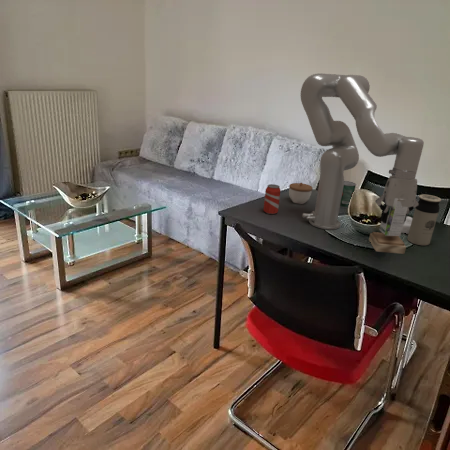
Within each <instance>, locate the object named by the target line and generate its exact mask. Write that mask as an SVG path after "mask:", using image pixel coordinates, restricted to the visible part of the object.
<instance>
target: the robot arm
mask: <svg viewBox="0 0 450 450" xmlns="http://www.w3.org/2000/svg"><path fill="white" fill-rule="evenodd" d="M370 86H371V85H370V82H369V81H368V79H367V78H366V77H365V76H363V75H359V74H358V75H357V74H346V75H345V74H332V73H313V74H311V75H309V76H307V78H306V79H304V82H303V83H302V85H301V88H300V101H301V105H302V107H303V110H304V111H305V113H306V117H307V118H308V122H309V125H310V128H311V130H312V134H313V137H314V139H315V141H316V143H317V144H318V145H319V146H321V147H330V146H331V148H328V149H327V150H326V151H325V150H324V152H323V154H321V157H320V160H319V161H320V163H319V167H320V168H319V169H320V170H319V171H320V172H319V181H318V189H317V194H316V200H315V201H316V202H315V206H314V208H315V209H314V210H312V212H310V213H307V212H303V213H302V217H301V218H303V219H306V220H308V221H309V224H310V225H312V226H313V227H316V228H318V229H322V230H330V231H331V230H337V229H339V228H340V227H341V222H340V221H339V219H338V218H339V213H340V208H341V207H340V203H341V197H342V192H343V186H344V181H345V177H344V171H349V170H351V169H354V168H355V167H356V166H357V165H358V163H359V161H360V160H359V159H360V155H359V150H358V147H357V145H356V143H355V139H354V137H353V134H352V132H351V129H350V127H349V125H347V124H346V123H345V122H343V121H341V120H334V119H333V117H332V114H331V112H330V109H329V106H328V105H327V104H326V102H325V101H324V100H323V98H339V99H340V100H341V101H342V103H343V104H344V106H345V107H346V109H347V110H348V112H349V113H350V115H351V116H352V117H353V119H354V121H355V127H356V130H357V131H356V132H357V134H358V137H359V138H360V141H361V143H363V145H364V146H365V147H366V149H367V150H368V152H370V154H372V155H373V156H375V157H379V158H380V157H386V156H394V155H395V160H394V164H393V167H392V169H389V171H388V173H389V174H390V175H389V177H388V179H387V181H386V184H385V185H384V186H385V187H384V190H383V192H382V194H381V196H379V197H378V198H377V199H376V200H375V204H376V205H377V206H378V207H379V209H380V210H381V215H380V221H382V222H383V223H386V222H387V218H388V213H387V211H388V210H389V208H390V206H391V207H392V206H393V204H394V199H395V198H398V199H399V200H400V199H404V201H403V200H400V202H401V201H402V202H401V205H402V207H408V208H407V212H406V216H405V220H404V222H405V221H406V217H407V216H408V215H409V214H410V212H411V211H413V210H415V207H416V206H418V205H419V203H418V201H417V199H416V196H417V191H418V179H417V178H416V175H417V172H418V168H419V165H420V160H421V155H422V152H423V149H424V140H423V139H421V138H419V137H413V136H405V135H402V134H399V133H397V132H396V133H394V132H387V133H384V132H383V131H382V129H381V128H380V126H379V125H378V122H377V121H376V118H375V112H376V110H377V103H376V101H374V100H373V98H372V97H371V95H370V94H369V91H370V88H371V87H370ZM382 202H383V203H382Z"/></svg>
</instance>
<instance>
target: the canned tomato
mask: <svg viewBox="0 0 450 450" xmlns="http://www.w3.org/2000/svg"><path fill="white" fill-rule="evenodd" d="M356 186H357V184H356V183H355V182H354V181H350V180H349V181H348V180H344V186H343V192H342V197H341V203H340V208H343V209H349V208H348V205H349V202H350V199H351V197H352V194H353V192H354V191H356ZM354 193H355V192H354Z"/></svg>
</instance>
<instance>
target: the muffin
mask: <svg viewBox="0 0 450 450" xmlns="http://www.w3.org/2000/svg"><path fill="white" fill-rule="evenodd" d="M412 219H413V217H411V216H408V215H407V217H406V221H405V222H404V224H403V228H402V232H403V233H402V232H401V233H402V234H404V233H406V234H405V235H408V234H409V230H410V226H411V222H412Z"/></svg>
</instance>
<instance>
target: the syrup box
mask: <svg viewBox="0 0 450 450" xmlns="http://www.w3.org/2000/svg"><path fill="white" fill-rule="evenodd" d="M400 200H403V201H404V199H400ZM400 200H399V199H398V198H395V199H394V204H393V206H392V207H391V206H390V208H389V210H388V211H387V213H388V218H387V222H386V223H383V222H382V221H381V220H380V221H381V222H380V225H379V231H380V233H384V234H385V235H386V236H399V237H401V234H402V228H403V224H404V220H405V216H406V212H407V208H408V207H402V205H401V202H402V201H401V202H400Z"/></svg>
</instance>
